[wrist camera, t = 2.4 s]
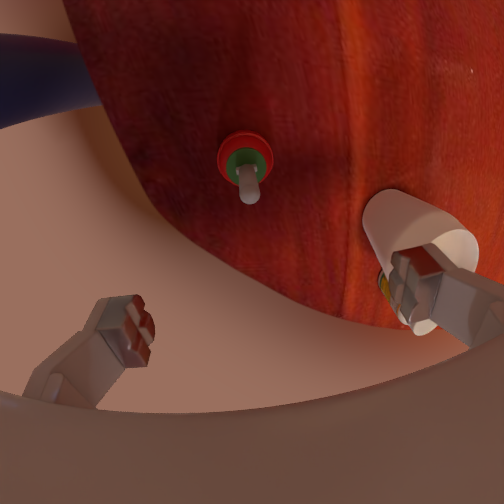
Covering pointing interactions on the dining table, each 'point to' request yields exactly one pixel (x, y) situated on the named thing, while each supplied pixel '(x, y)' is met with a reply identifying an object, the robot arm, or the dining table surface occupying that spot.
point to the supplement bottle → (417, 327)
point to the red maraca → (245, 162)
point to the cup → (415, 229)
